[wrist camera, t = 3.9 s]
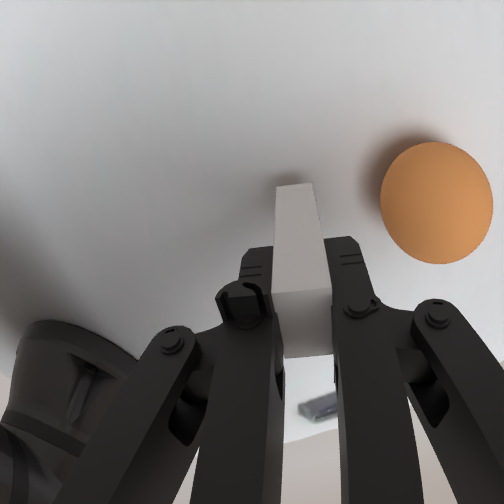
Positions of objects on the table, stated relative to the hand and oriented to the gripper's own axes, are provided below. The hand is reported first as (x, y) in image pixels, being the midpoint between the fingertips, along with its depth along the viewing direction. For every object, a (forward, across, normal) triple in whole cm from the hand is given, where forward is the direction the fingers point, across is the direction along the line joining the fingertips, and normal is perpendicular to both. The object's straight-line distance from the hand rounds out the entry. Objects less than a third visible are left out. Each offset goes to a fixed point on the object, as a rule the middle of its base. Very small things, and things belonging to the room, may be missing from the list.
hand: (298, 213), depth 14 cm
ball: (0, -6, 0) cm, 7 cm away
